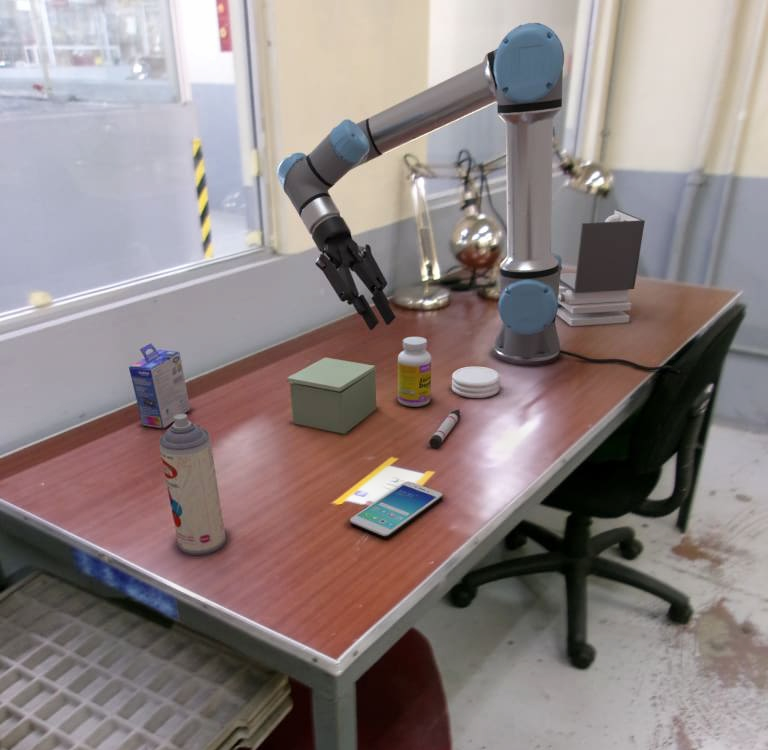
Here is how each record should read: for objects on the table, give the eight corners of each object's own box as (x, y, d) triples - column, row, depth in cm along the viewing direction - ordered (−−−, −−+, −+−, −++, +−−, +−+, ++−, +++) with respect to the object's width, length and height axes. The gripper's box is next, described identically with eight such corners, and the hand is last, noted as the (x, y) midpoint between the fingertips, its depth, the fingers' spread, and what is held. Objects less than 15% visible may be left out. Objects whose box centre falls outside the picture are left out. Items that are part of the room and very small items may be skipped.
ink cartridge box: (168, 406, 152) (155, 337, 144) (191, 409, 150) (180, 339, 143) (139, 426, 144) (124, 353, 137) (164, 429, 143) (150, 356, 135)
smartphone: (347, 519, 112) (406, 480, 122) (347, 524, 112) (406, 484, 122) (386, 535, 108) (444, 493, 118) (386, 540, 109) (444, 498, 118)
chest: (344, 434, 140) (342, 393, 135) (293, 423, 144) (289, 383, 140) (376, 408, 149) (375, 369, 145) (327, 399, 154) (325, 361, 149)
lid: (339, 391, 134) (339, 387, 134) (287, 381, 139) (286, 377, 138) (375, 369, 145) (375, 365, 145) (325, 361, 149) (325, 357, 149)
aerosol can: (174, 535, 111) (150, 411, 100) (219, 525, 113) (200, 402, 103) (183, 559, 105) (158, 431, 95) (231, 548, 108) (212, 421, 97)
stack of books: (628, 322, 194) (644, 220, 181) (558, 327, 191) (569, 224, 178) (604, 305, 207) (617, 209, 194) (538, 309, 205) (547, 213, 192)
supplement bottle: (420, 410, 148) (420, 348, 141) (391, 404, 151) (391, 342, 144) (436, 399, 153) (437, 338, 146) (408, 392, 156) (408, 332, 149)
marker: (439, 449, 134) (439, 438, 133) (428, 447, 134) (429, 437, 133) (463, 415, 146) (463, 406, 145) (453, 414, 146) (454, 404, 145)
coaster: (466, 377, 163) (467, 362, 161) (507, 387, 158) (508, 371, 156) (442, 392, 156) (443, 376, 154) (484, 403, 151) (485, 386, 149)
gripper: (350, 232, 160) (404, 324, 158) (286, 244, 150) (343, 343, 149) (366, 208, 154) (422, 304, 152) (300, 220, 144) (359, 322, 143)
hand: (382, 323), depth 150 cm, fingers open, 4 cm apart
